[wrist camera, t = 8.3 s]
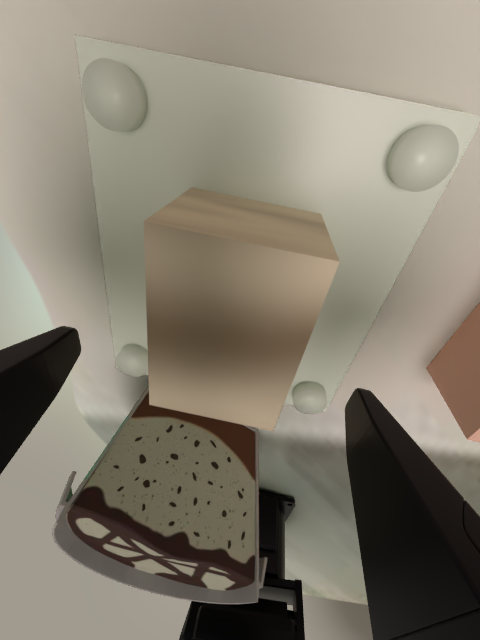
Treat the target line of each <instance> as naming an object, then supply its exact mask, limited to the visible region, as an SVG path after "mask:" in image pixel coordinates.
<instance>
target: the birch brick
mask: <svg viewBox="0 0 480 640" xmlns="http://www.w3.org/2000/svg"><path fill="white" fill-rule="evenodd" d="M144 248H145V280H146V313H147V345H148V378H149V405H153V406H158V407H162V408H167V409H172V410H176V411H181V412H186V413H190V414H195V415H200V416H204V417H209V418H214V419H218V420H223V421H228V422H232V423H237V424H242V425H246V426H251V427H256V428H260V429H265V430H270V431H274V428H275V425H276V423H277V420H278V418H279V415H280V413H281V410H282V408H283V405H284V403H285V400H286V397H287V395H288V392H289V390H290V387H291V385H292V382H293V380H294V377H295V375H296V372H297V369H298V367H299V364H300V362H301V359H302V357H303V354H304V352H305V349H306V347H307V344H308V341H309V339H310V336H311V334H312V331H313V329H314V326H315V324H316V321H317V319H318V316H319V313H320V311H321V308H322V306H323V303H324V301H325V298H326V296H327V293H328V291H329V288H330V285H331V283H332V280H333V278H334V275H335V273H336V270H337V268H338V265H339V263H340V261H339V258H338V256H337V253H336V251H335V248H334V245H333V243H332V240H331V238H330V235H329V233H328V230H327V227H326V225H325V222H324V220H323V217H322V215H321V214H320V213H315V212H310V211H305V210H300V209H295V208H290V207H285V206H281V205H276V204H271V203H266V202H261V201H256V200H251V199H246V198H242V197H237V196H232V195H227V194H222V193H217V192H212V191H207V190H202V189H198V188H193V187H191V188H190V189H189V190H187V191H186V192H184V193H183V194H181V195H180V196H179V197H177V198H176V199H174V200H173V201H172V202H170V203H169V204H167V205H166V206H164V207H163V208H162V209H160V210H159V211H157V212H156V213H155V214H153V215H152V216H150V217H149V218H148V219H146V220H145V221H144Z"/></svg>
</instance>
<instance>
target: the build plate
mask: <svg viewBox="0 0 480 640" xmlns="http://www.w3.org/2000/svg"><path fill="white" fill-rule="evenodd" d="M75 42H76V50H77V59H78V67H79V75H80V83H81V91H82V99H83V107H84V115H85V123H86V132H87V140H88V148H89V156H90V164H91V172H92V180H93V188H94V196H95V205H96V213H97V221H98V229H99V237H100V245H101V253H102V261H103V270H104V278H105V286H106V294H107V302H108V310H109V318H110V326H111V334H112V343H113V351H114V359H115V367H116V368H117V369H119V370H120V371H122V372H123V373H125V374H127V375H129V376H132V377H141V376H143V375H148V345H147V313H146V280H145V248H144V221H145V220H146V219H148V218H149V217H150V216H152V215H153V214H155V213H156V212H157V211H159V210H160V209H162V208H163V207H164V206H166V205H167V204H169V203H170V202H172V201H173V200H174V199H176V198H177V197H179V196H180V195H181V194H183V193H184V192H186V191H187V190H189V189H190V188H191V187H193V188H198V189H202V190H207V191H212V192H217V193H222V194H227V195H232V196H237V197H242V198H246V199H251V200H256V201H261V202H266V203H271V204H276V205H281V206H285V207H290V208H295V209H300V210H305V211H310V212H315V213H320V214H321V215H322V217H323V220H324V222H325V225H326V227H327V230H328V233H329V235H330V238H331V240H332V243H333V245H334V248H335V251H336V253H337V256H338V258H339V261H340V263H339V265H338V268H337V270H336V273H335V275H334V278H333V280H332V283H331V285H330V288H329V291H328V293H327V296H326V298H325V301H324V303H323V306H322V308H321V311H320V313H319V316H318V319H317V321H316V324H315V326H314V329H313V331H312V334H311V336H310V339H309V341H308V344H307V347H306V349H305V352H304V354H303V357H302V359H301V362H300V364H299V367H298V369H297V372H296V375H295V377H294V380H293V382H292V385H291V387H290V390H289V392H288V395H287V397H286V400H285V403H284V404H286V405H291V406H294V407H295V408H296V409H297V410H298V411H300V412H302V413H306V414H315V413H319V412H324V413H325V411H326V410H327V408H328V406H329V404H330V402H331V400H332V398H333V397H334V395H335V393H336V391H337V389H338V387H339V385H340V384H341V382H342V380H343V378H344V376H345V374H346V372H347V370H348V369H349V367H350V365H351V363H352V361H353V359H354V357H355V356H356V354H357V352H358V350H359V348H360V346H361V344H362V342H363V341H364V339H365V337H366V335H367V333H368V331H369V329H370V328H371V326H372V324H373V322H374V320H375V318H376V316H377V314H378V313H379V311H380V309H381V307H382V305H383V303H384V301H385V300H386V298H387V296H388V294H389V292H390V290H391V288H392V286H393V285H394V283H395V281H396V279H397V277H398V275H399V273H400V272H401V270H402V268H403V266H404V264H405V262H406V260H407V258H408V257H409V255H410V253H411V251H412V249H413V247H414V245H415V244H416V242H417V240H418V238H419V236H420V234H421V232H422V231H423V229H424V227H425V225H426V223H427V221H428V219H429V217H430V216H431V214H432V212H433V210H434V208H435V206H436V204H437V203H438V201H439V199H440V197H441V195H442V193H443V191H444V189H445V188H446V186H447V184H448V182H449V180H450V178H451V176H452V175H453V173H454V171H455V169H456V167H457V165H458V163H459V161H460V160H461V158H462V156H463V154H464V152H465V150H466V148H467V147H468V145H469V143H470V141H471V139H472V137H473V135H474V133H475V132H476V130H477V128H478V126H479V124H480V115H476V114H471V113H466V112H461V111H456V110H451V109H446V108H441V107H435V106H430V105H425V104H420V103H415V102H410V101H405V100H400V99H395V98H390V97H385V96H380V95H375V94H370V93H365V92H360V91H355V90H350V89H345V88H340V87H335V86H330V85H325V84H320V83H315V82H310V81H305V80H300V79H295V78H290V77H285V76H280V75H275V74H270V73H265V72H260V71H255V70H250V69H245V68H240V67H235V66H230V65H225V64H220V63H215V62H210V61H205V60H200V59H195V58H190V57H185V56H179V55H174V54H169V53H164V52H159V51H154V50H149V49H144V48H139V47H134V46H129V45H124V44H119V43H114V42H109V41H104V40H99V39H94V38H89V37H84V36H79V35H75Z"/></svg>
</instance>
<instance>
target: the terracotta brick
mask: <svg viewBox="0 0 480 640" xmlns="http://www.w3.org/2000/svg"><path fill="white" fill-rule="evenodd" d="M427 370H428V372H429V374H430V375H431V377H432V379H433V381H434V382H435V384H436V386H437V388H438V389H439V391H440V393H441V395H442V396H443V398H444V400H445V402H446V403H447V405H448V407H449V409H450V410H451V412H452V414H453V416H454V417H455V419H456V421H457V423H458V424H459V426H460V428H461V430H462V431H463V433H464V435H465V437H466V438H467V439H468V440H472V441H476V442H480V302H479V304H478V305H477V306H476V307H475V309H474V310H473V311H472V312H471V314H470V315H469V316H468V317H467V318H466V320H465V321H464V322H463V323H462V325H461V326H460V327H459V328H458V330H457V331H456V332H455V333H454V335H453V336H452V337H451V338H450V340H449V341H448V342H447V343H446V344H445V346H444V347H443V348H442V349H441V351H440V352H439V353H438V354H437V356H436V357H435V358H434V359H433V361H432V362H431V363H430V364H429V365H428V367H427Z"/></svg>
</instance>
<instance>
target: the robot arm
mask: <svg viewBox="0 0 480 640" xmlns="http://www.w3.org/2000/svg"><path fill="white" fill-rule="evenodd" d="M80 353H81V344H80V340H79V335H78V331H77V330H76V329H75V328H71V327H66V326H61V327H58V328H56V329H53V330H51V331H48V332H46V333H43V334H41V335H38V336H36V337H33V338H30V339H28V340H25V341H23V342H20V343H18V344H15V345H13V346H10V347H7V348H5V349H2V350H0V474H1V473H2V471H3V470H4V468H5V467H6V466H7V464H8V463H9V462H10V460H11V458H12V457H13V456H14V455H15V453H16V452H17V450H18V449H19V448H20V446H21V445H22V443H23V442H24V441H25V439H26V438H27V436H28V435H29V434H30V432H31V431H32V429H33V428H34V427H35V425H36V424H37V422H38V421H39V420H40V418H41V417H42V415H43V414H44V413H45V411H46V410H47V408H48V407H49V406H50V404H51V403H52V401H53V400H54V398H55V397H56V395H57V394H58V392H59V390H60V389H61V387H62V385H63V384H64V382H65V380H66V378H67V377H68V375H69V373H70V371H71V369H72V368H73V366H74V364H75V362H76V361H77V359H78V357H79V355H80ZM345 427H346V453H347V464H348V471H349V478H350V484H351V491H352V498H353V505H354V512H355V518H356V525H357V532H358V539H359V546H360V552H361V559H362V566H363V573H364V580H365V586H366V593H367V600H368V607H369V613H370V620H371V627H372V634H373V640H480V516H479V515H478V514H477V513H476V512H475V510H474V509H473V508H472V507H471V506H470V505H469V504H468V502H467V501H465V500H464V498H463V497H462V496H461V494H460V493H459V492H458V491H457V490H456V489H455V488H454V486H453V485H452V484H451V483H450V482H449V481H448V479H447V478H446V477H445V476H444V475H443V474H442V473H441V471H440V470H439V469H438V468H437V467H436V466H435V465H434V463H433V462H432V461H431V460H430V459H429V458H428V456H427V455H426V454H425V453H424V452H423V451H422V450H421V448H420V447H419V446H418V445H417V444H416V443H415V441H414V440H413V439H412V438H411V437H410V436H409V435H408V433H407V432H406V431H405V430H404V429H403V428H402V426H401V425H400V424H399V423H398V422H397V421H396V420H395V418H394V417H393V416H392V415H391V414H390V413H389V412H388V410H387V409H386V408H385V407H384V406H383V405H382V403H381V402H380V401H379V400H378V399H377V398H376V397H375V395H374V394H373V393H372V392H371V391H369V390H365V389H361V388H357V389H355V391H354V392H353V394H352V395H351V397H350V399H349V401H348V402H347V404H346V407H345ZM294 507H295V500H294V499H292V498H288V497H284V496H279V495H275V494H270V493H265V492H261V491H259V558H263V557H266V558H268V559H267V565H266V571H265V576H264V582H263V588H259V597H258V602H257V603H248V604H215V603H204V602H196V601H192V602H191V605H190V608H189V611H188V614H187V617H186V620H185V623H184V626H183V629H182V632H181V635H180V639H179V640H305V634H304V617H303V600H302V582H301V580H295V581H293V580H286V579H285V521H286V519H287V518H288V516H289V515H290V513H291V511H292V510H293V508H294ZM287 605H293V611H291V610H287Z"/></svg>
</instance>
